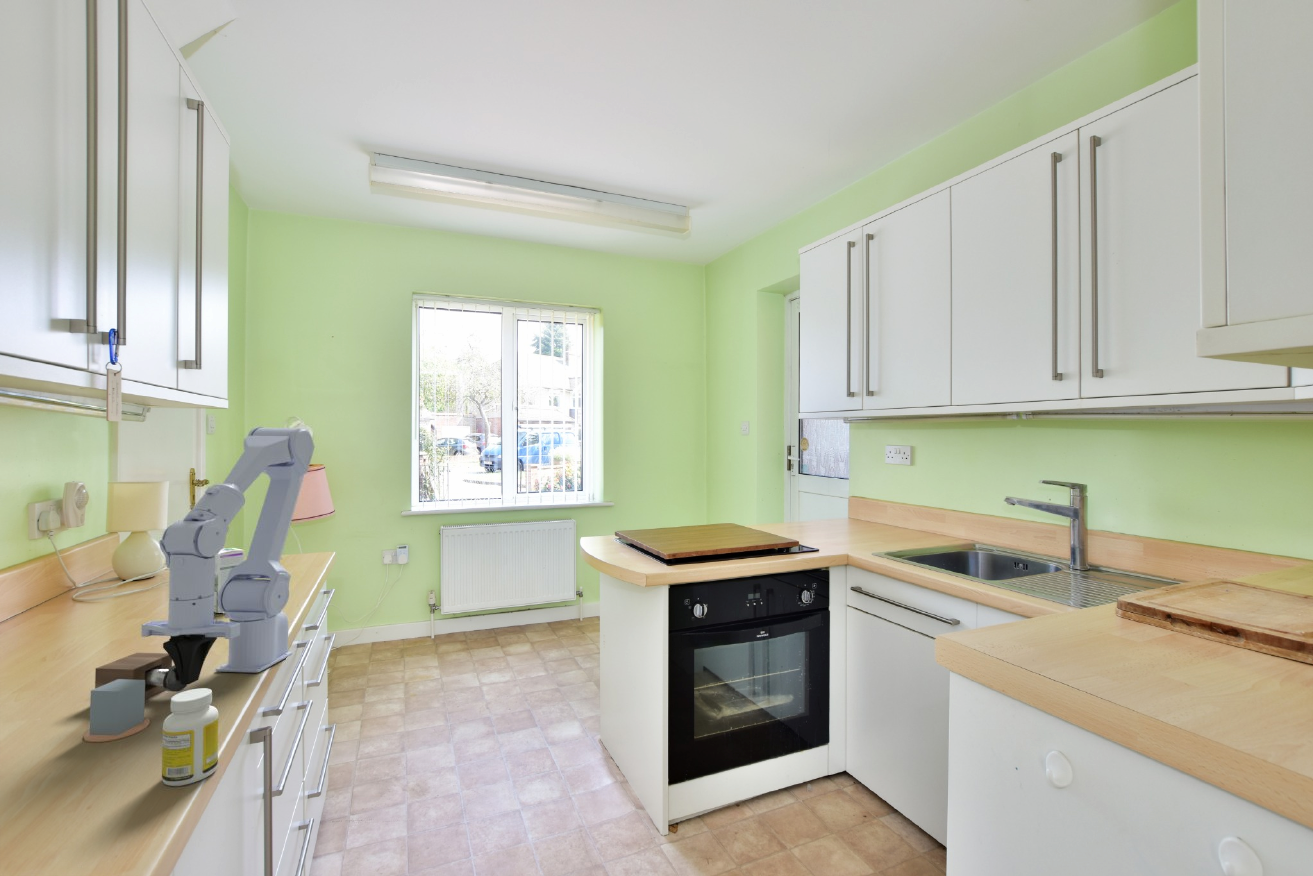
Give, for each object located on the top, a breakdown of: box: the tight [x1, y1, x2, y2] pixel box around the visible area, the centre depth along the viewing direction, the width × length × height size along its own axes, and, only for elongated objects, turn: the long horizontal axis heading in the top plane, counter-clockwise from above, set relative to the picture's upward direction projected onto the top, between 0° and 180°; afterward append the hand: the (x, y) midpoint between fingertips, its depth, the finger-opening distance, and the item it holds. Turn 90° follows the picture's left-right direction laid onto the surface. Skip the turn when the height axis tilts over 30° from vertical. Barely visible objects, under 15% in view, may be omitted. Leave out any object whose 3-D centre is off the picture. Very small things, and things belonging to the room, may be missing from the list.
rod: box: [145, 665, 188, 693], centre depth 94 cm, size 4×8×4 cm, turn 88°
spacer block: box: [89, 679, 146, 736], centre depth 83 cm, size 4×4×6 cm
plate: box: [83, 717, 150, 743], centre depth 83 cm, size 7×7×1 cm
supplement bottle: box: [161, 687, 220, 787], centre depth 73 cm, size 5×5×10 cm
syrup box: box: [214, 547, 245, 614], centre depth 142 cm, size 6×6×14 cm
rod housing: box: [94, 652, 173, 700], centre depth 94 cm, size 7×6×6 cm
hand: (189, 682), depth 94 cm, fingers closed
